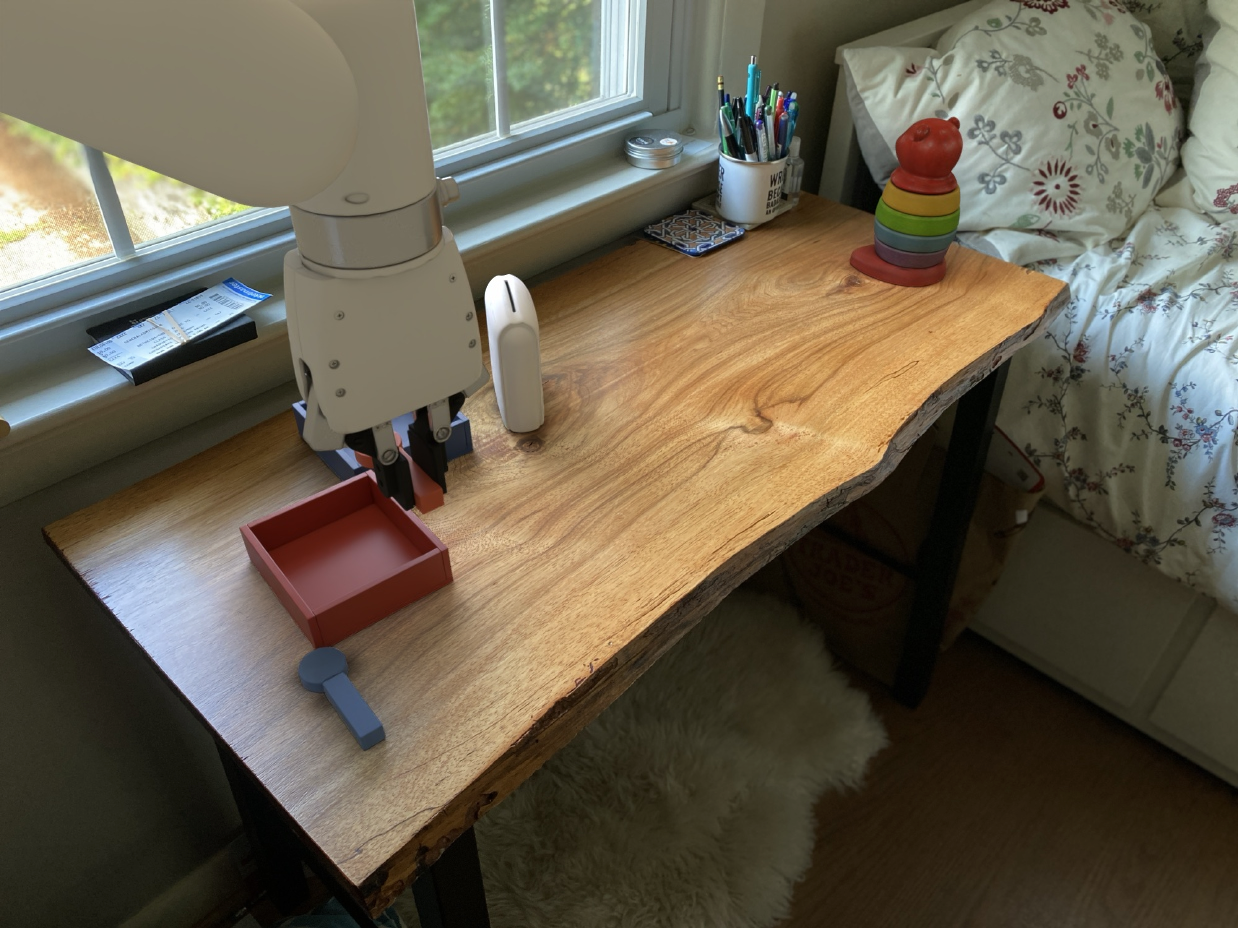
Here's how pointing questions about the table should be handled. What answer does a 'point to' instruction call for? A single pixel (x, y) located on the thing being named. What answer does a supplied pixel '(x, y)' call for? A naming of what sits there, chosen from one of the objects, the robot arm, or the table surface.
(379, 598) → the red bin
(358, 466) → the blue bin
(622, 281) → the table surface
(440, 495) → the red spoon
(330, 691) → the blue spoon
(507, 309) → the photo printer
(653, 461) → the table surface
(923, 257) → the stacking bear
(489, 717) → the table surface
